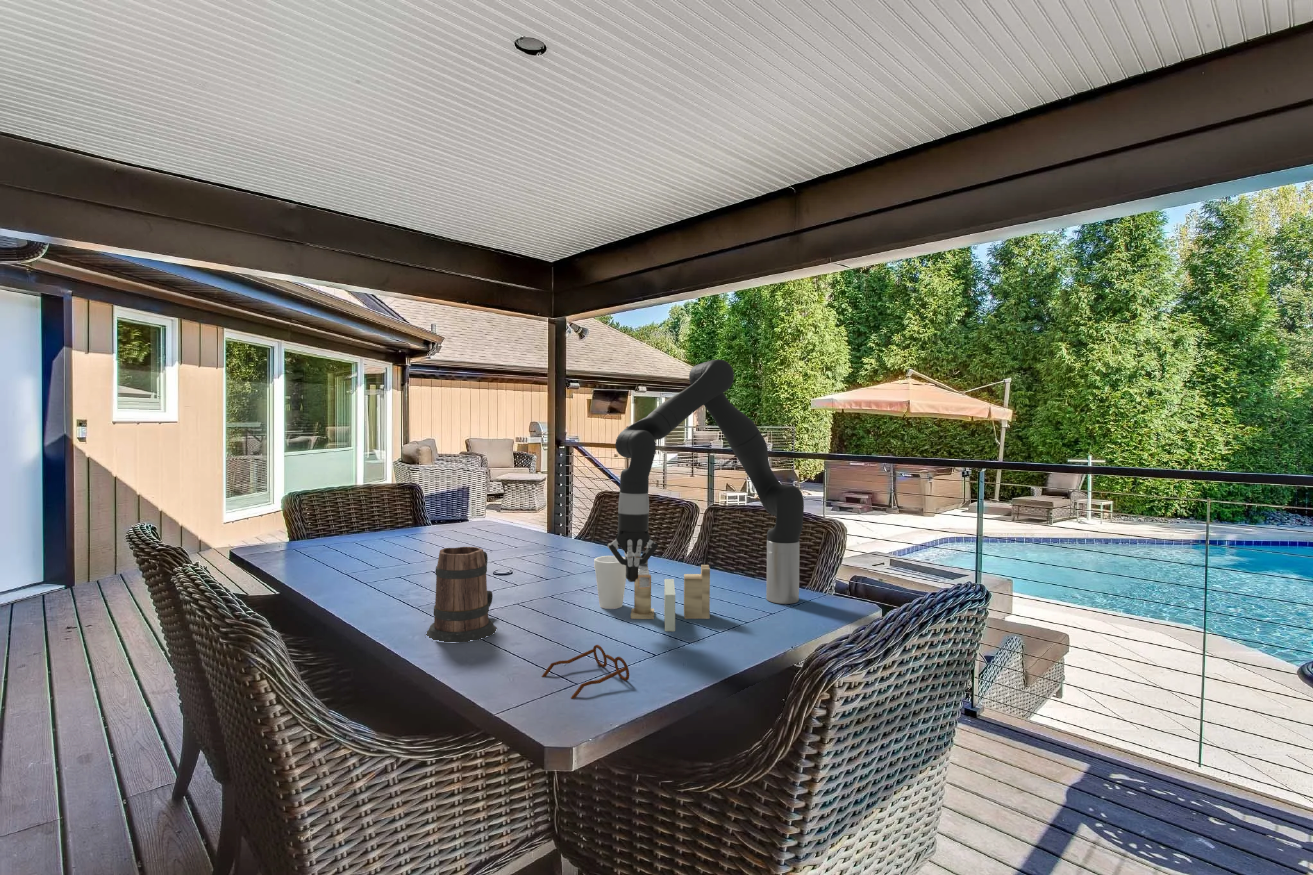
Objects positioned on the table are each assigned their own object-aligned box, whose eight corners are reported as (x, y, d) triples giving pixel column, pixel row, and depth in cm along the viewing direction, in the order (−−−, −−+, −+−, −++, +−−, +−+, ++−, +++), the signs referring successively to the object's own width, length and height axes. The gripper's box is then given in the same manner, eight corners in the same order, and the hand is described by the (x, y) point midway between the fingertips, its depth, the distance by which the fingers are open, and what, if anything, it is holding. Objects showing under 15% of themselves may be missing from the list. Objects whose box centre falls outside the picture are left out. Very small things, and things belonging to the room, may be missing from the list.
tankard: (478, 645, 149) (478, 558, 148) (410, 640, 152) (410, 555, 151) (518, 615, 172) (518, 540, 171) (459, 612, 175) (459, 537, 174)
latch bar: (637, 573, 174) (637, 556, 174) (648, 573, 174) (648, 556, 174) (638, 588, 158) (638, 569, 158) (650, 588, 158) (650, 569, 158)
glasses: (630, 685, 128) (631, 659, 128) (571, 701, 120) (571, 674, 120) (596, 664, 139) (596, 641, 138) (540, 678, 131) (540, 653, 131)
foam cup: (600, 612, 175) (600, 564, 175) (589, 603, 184) (589, 557, 183) (633, 608, 179) (633, 561, 179) (621, 599, 188) (621, 554, 187)
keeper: (683, 612, 175) (684, 564, 175) (708, 613, 175) (708, 564, 175) (684, 618, 170) (684, 568, 170) (709, 618, 170) (709, 569, 170)
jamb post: (631, 612, 175) (631, 573, 175) (654, 612, 175) (654, 573, 175) (630, 618, 169) (631, 578, 169) (653, 618, 169) (654, 578, 169)
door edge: (664, 612, 175) (664, 578, 175) (673, 612, 175) (673, 579, 175) (664, 631, 159) (665, 594, 159) (675, 631, 159) (675, 594, 159)
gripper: (655, 508, 166) (653, 576, 166) (604, 509, 162) (602, 578, 162) (663, 512, 159) (661, 583, 159) (610, 513, 155) (608, 586, 155)
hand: (631, 581), depth 161 cm, fingers closed
